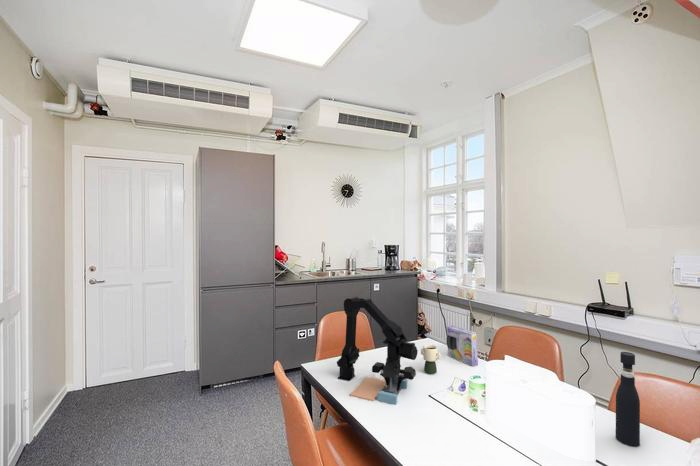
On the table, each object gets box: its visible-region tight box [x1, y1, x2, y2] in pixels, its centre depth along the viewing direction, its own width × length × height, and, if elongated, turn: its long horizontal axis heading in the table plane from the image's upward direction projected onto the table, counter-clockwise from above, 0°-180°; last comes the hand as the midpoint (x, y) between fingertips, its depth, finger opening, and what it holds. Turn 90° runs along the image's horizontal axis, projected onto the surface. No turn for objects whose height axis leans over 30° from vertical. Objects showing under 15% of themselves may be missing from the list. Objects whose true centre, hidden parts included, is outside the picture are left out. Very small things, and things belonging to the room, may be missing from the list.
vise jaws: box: [377, 378, 409, 406], centre depth 147 cm, size 8×18×4 cm, turn 154°
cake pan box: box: [445, 324, 479, 367], centre depth 187 cm, size 19×5×18 cm, turn 28°
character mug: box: [420, 344, 441, 374], centre depth 170 cm, size 11×7×13 cm, turn 48°
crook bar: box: [383, 375, 402, 396], centre depth 147 cm, size 4×12×7 cm, turn 155°
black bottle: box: [615, 351, 641, 448], centre depth 114 cm, size 6×6×30 cm
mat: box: [349, 376, 387, 402], centre depth 152 cm, size 11×20×1 cm, turn 154°
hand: (393, 389), depth 148 cm, fingers closed on crook bar, 4 cm apart
